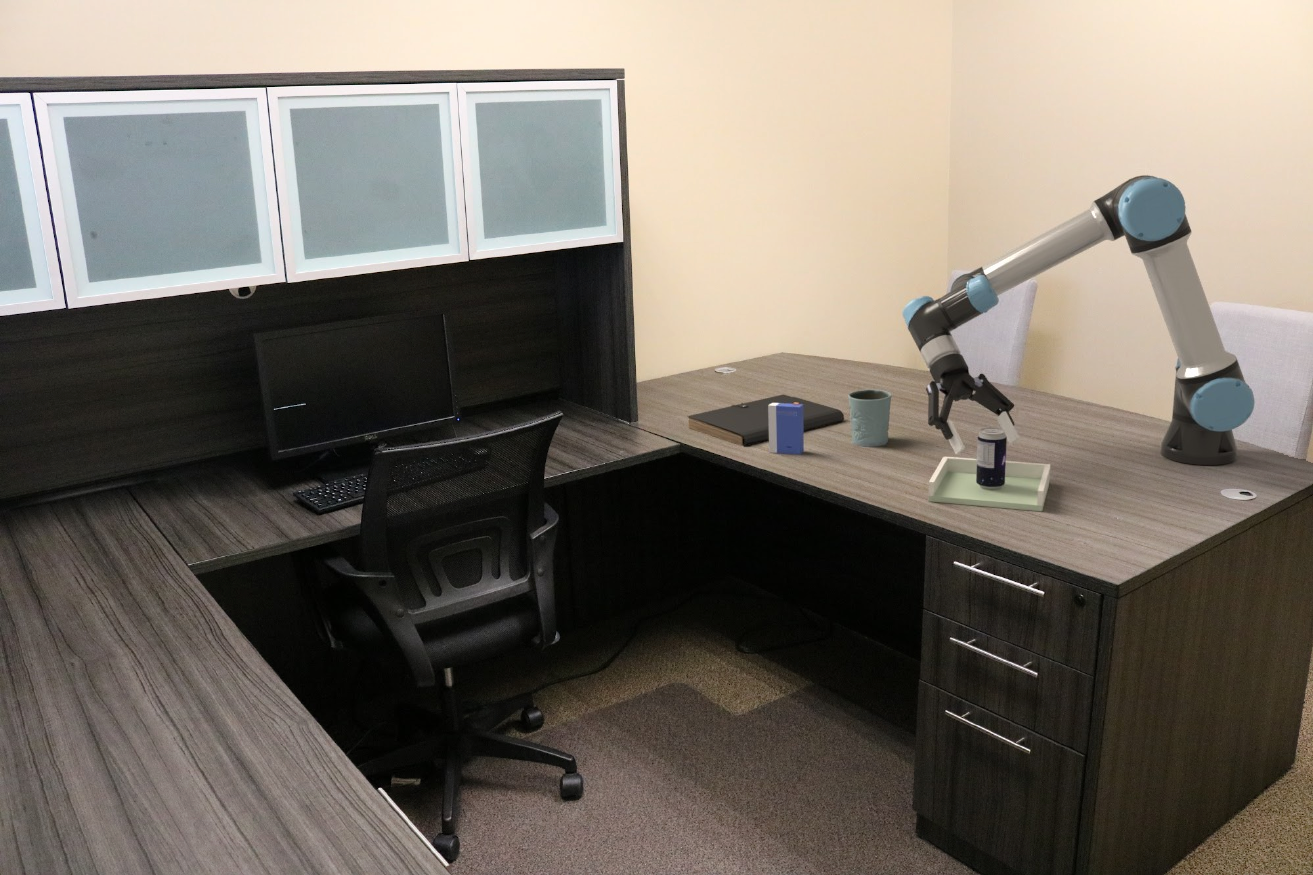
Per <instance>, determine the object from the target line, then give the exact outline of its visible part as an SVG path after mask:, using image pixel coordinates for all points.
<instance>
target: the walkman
mask: <svg viewBox="0 0 1313 875" xmlns="http://www.w3.org/2000/svg"><path fill="white" fill-rule="evenodd" d="M768 419H769V440H768V452H769V453H771V454H785V455H786V454H787V455H788V454H789V455H802V454H803V452H804V451H805V450H804V448H805V446H804V445H805V444H804V436H805V435H804V434H805V433H804V431H803V404H799V403H793V404H787V403H771V404H769V405H768Z"/></svg>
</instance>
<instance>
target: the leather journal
mask: <svg viewBox="0 0 1313 875" xmlns="http://www.w3.org/2000/svg"><path fill="white" fill-rule="evenodd" d="M771 403H787V404H793V403H799V404H803V432H806V431H810V430H811V431H812V430H813V429H814V430H815V429H818V428H823V427H826V426H827V427H828V426H829V425H830V426H831V425H834V424H838V423H842V422H843V421H844V420H845V415H844V413H843V412H842V410H840V409H838V408H834V407H831V406H828V405H824V404H821V403H817V402H814V401H810V400H806V399H804V398H799V397H796V396H790V395H786V394H783V393H782V394H778V395H775V396H770V397H767V398H766V397H765V398H761V399H758V400H753V401H748V402H744V403H743V402H741V403H739V404H732V405H731V406H726V407H725V406H724V407H721V408H718V409H717V408H716V409H713V410H709V411H704V412H700V413H694V414H691V415H687V418H688V419H687V422H688V424H687V425H688V429H690V430H693V431H697V432H699V433H701V434H704V435H708V436H712V437H715V438H717V439H720V440H723V441H726V442H729V443H733V444H736V445H739V446H742V447H747V446H751V445H755V444H759V443H763V442H767V441H769V419H768V405H769V404H771Z"/></svg>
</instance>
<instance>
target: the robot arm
mask: <svg viewBox="0 0 1313 875" xmlns="http://www.w3.org/2000/svg"><path fill="white" fill-rule="evenodd" d="M1186 209H1187V208H1186V201H1185V198H1184V196H1183V194H1182V192H1181V190H1180V189H1179V187H1177V185H1175V184H1174V183H1172V181H1169V180H1167V179H1165V178H1162V177H1161V178H1160V177H1157V176H1153V175H1148V174H1147V175H1145V174H1143V175H1139V176H1138V175H1137V176H1134V177H1132V178H1129V179H1127V180H1126V181H1123V183H1121V184H1119V185H1118V186H1116V187H1115V188H1113V189H1112V190H1110V191H1109V192H1107V193H1106V194H1103V196H1100V197H1099V198H1097V199H1095V200H1093V201H1091V204H1090V207H1089V209H1086V210H1084V211H1083V212H1081V213H1079V214H1078V215H1076V216H1073V217H1072V218H1070V219H1068V220H1066V221H1064V222H1062V223H1060V224H1059V225H1057V226H1055V227H1053V228H1051V229H1049V230H1047V231H1045V232H1044V233H1042V234H1040V235H1038V236H1035V237H1034V238H1032V239H1031V240H1029V241H1027V242H1025V243H1022V244H1021V245H1019V246H1018V247H1016V248H1014V249H1012V250H1010V251H1008V252H1006V253H1005V254H1002V255H1000V256H999V257H997V258H995V259H993V260H991V261H989V262H987V263H986V264H983V265H982V266H980V267H979V268H976V269H975V270H973V271H970V272H966V273H962V274H961V275H959V276H958V277H957V278H956V279H955V280H954V281H953V282H952V285H951V287H950V290H949V292H948V293H946V294H945V295H943V296H941V297H939V298H938V299H935V300H934V299H933V297H932V296H929V295H922V296H920V297H918V298H916V297H915V298H913V299H912V300H910V301H909V302H907V304H906V305H905V306H904V308H903V310H902V317H903V319H904V322H905V323H906V326H907V331H909V333H910V335H911V337H912V340H913V341H914V343H915V345H916V347H917V348H918V351H919V352H920V355H921V357H922V358H923V360H924V363H925V365H926V367H927V368H928V369H929V373H930V375H931V377H932V379H933V380H932V381H930V383H928V385H927V386H926V388H925V389H926V390H925V391H926V394H927V395H928V396H927V397H928V399H927V400H928V408H927V409H928V411H927V412H928V415H927V416H928V418H927V420H928V421H927V423H928V425H929V426H930V427H933V426H934V427H935V429H936V430H938V431H939V430H940V431H941V433H942V435H943V437H944V439H946V441H947V440H948V441H949V444H950V445H951V447H952V450H953V452H954V454H955V455H957V456H958V455H960V454H961V452H962V451H964V449H965V448H966V446H965V445H964V443H963V441H962V439H961V437H960V435H959V432H958V430H957V429H956V427H955V425H954V421H953V420H949V419H948V418H949V415H950V413H951V409H952V406H953V402H958V401H961V400H962V401H966V400H970V401H972V402H976V403H978V404H979V405H981V406H982V407H983V408H985V409H987V410H988V411H990V412H992V413H993V414H995V415H997V418H996V421H997V422H998V424H999V427H1000V429H1003V430H1005V434H1006V437H1007V441H1008V444H1009V445H1014V444H1015V443H1016V442H1017V441H1018V440H1019V439H1020V435H1019V433H1018V432H1017V429H1016V428H1015V422H1014V419H1013V418H1012V416H1011V414H1010V412H1011V410H1012V409H1013V408H1014V407H1015V404H1014V402H1012V401H1011V400H1010V399H1009V398H1008V397H1007V396H1006V395H1004V393H1002V392H1001V391H1000V390H999V389H998V388H996V387H995V385H993V384H992V383H991V382H990V381H989V379H988V378H987V377H986V375H985V374H984V373H980V374H979V375H978V376H975V377H973V376H972V375H971V374H970V372H969V371H970V370H969V365H968V363H967V361H966V359H965V358H964V356H963V355H962V354H961V350H960V348H959V346H958V345H957V342H956V341H955V339H954V337H953V335H952V333H951V332H952V331H954V330H956V329H958V328H959V327H961V326H963V325H965V324H967V323H969V321H972V320H973V319H975V318H977V317H979V316H981V315H983V314H984V313H985V314H986V313H988V312H989V310H991V309H993V308H994V307H995V306H997V305H998V304H999V297H998V296H1000V295H1002V294H1004V293H1005V292H1008V291H1009V290H1011V289H1013V288H1015V287H1018V286H1019V285H1020V284H1021V285H1022V284H1023V283H1025V282H1027V281H1029V280H1031V279H1032V278H1034V277H1037V276H1038V275H1040V274H1042V273H1044V272H1046V271H1048V270H1050V269H1052V268H1054V267H1057V266H1058V265H1059V264H1062V263H1064V262H1066V261H1067V260H1070V259H1071V258H1073V257H1076V256H1077V255H1079V254H1081V253H1083V252H1084V251H1085V252H1086V251H1087V250H1089V249H1091V248H1092V247H1095V246H1096V245H1098V244H1101V243H1102V242H1104V241H1111V242H1114V241H1116V240H1119V239H1121V238H1122V237H1124V238H1125V239H1126V242H1127V244H1128V248H1129V250H1130V253H1131V255H1132V256H1135V257H1137V258H1140V259H1141V260H1142V261H1143V262H1142V263H1143V265H1144V268H1145V270H1146V273H1147V276H1148V279H1149V281H1150V284H1151V287H1152V290H1153V293H1154V295H1155V297H1156V301H1157V303H1158V305H1159V309H1160V311H1161V314H1162V317H1163V320H1164V322H1165V325H1166V327H1167V330H1168V333H1169V336H1170V339H1171V342H1172V343H1173V347H1174V350H1175V352H1176V355H1177V360H1176V366H1175V368H1174V370H1175V379H1174V380H1175V381H1174V391H1173V392H1174V393H1173V404H1172V417H1171V421H1170V423H1169V425H1168V428H1167V429H1166V432H1165V434H1164V436H1163V439H1162V441H1161V445H1160V454H1161V455H1162V457H1164V458H1166V459H1168V460H1171V461H1175V462H1179V463H1184V464H1190V465H1198V466H1199V465H1200V466H1219V465H1226V464H1229V463H1233V462H1235V461H1236V459H1237V455H1238V454H1237V452H1238V448H1237V444H1236V440H1235V436H1234V432H1233V430H1234V429H1236V428H1237V429H1238V427H1240V426H1242V425H1243V424H1245V423H1246V422H1247V421H1248V420H1249V418H1250V417H1251V415H1252V414H1253V411H1254V408H1255V397H1254V396H1255V395H1254V392H1253V390H1252V388H1251V387H1250V386H1249V385H1248V384H1247V383H1246V380H1245V378H1244V374H1243V372H1242V369H1241V367H1240V363H1239V360H1238V358H1237V356H1236V355H1235V354H1234V353H1231V352H1228V351H1227V350H1226V349H1225V347H1224V343H1223V341H1222V338H1221V336H1220V333H1219V329H1218V326H1217V325H1216V322H1215V318H1214V316H1213V313H1212V310H1211V308H1210V305H1209V302H1208V299H1207V296H1206V293H1205V290H1204V288H1203V286H1202V285H1203V284H1202V282H1201V279H1200V277H1199V274H1198V271H1197V268H1196V265H1195V263H1194V260H1193V257H1192V254H1191V252H1190V251H1191V250H1190V249H1189V245H1188V240H1190V239H1189V238H1190V236H1191V235H1192V233H1193V231H1192V229H1191V225H1190V223H1189V219H1188V217H1187V214H1186ZM940 392H941V393H942V394H944V397H943V400H942V406H941V408H940ZM940 409H941V410H940ZM948 420H949V421H948Z"/></svg>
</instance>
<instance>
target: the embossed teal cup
mask: <svg viewBox="0 0 1313 875" xmlns="http://www.w3.org/2000/svg"><path fill="white" fill-rule="evenodd" d="M847 397H848V406H849V411H850V412H849V417H850V427H851V428H850V430H851V441H852V444H853V445H856V446H859V447H865V448H867V447H869V448H870V447H871V448H875V447H882V446H885V445H887V444H888V441H889V432H888V431H889V429H890V428H889V426H890V413H891V402H892V393H891V392H889V391H886V390H883V389H871V388H870V389H868V388H867V389H866V388H865V389H859V390H853V391H851V392H850V393H849V394H848V396H847Z"/></svg>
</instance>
